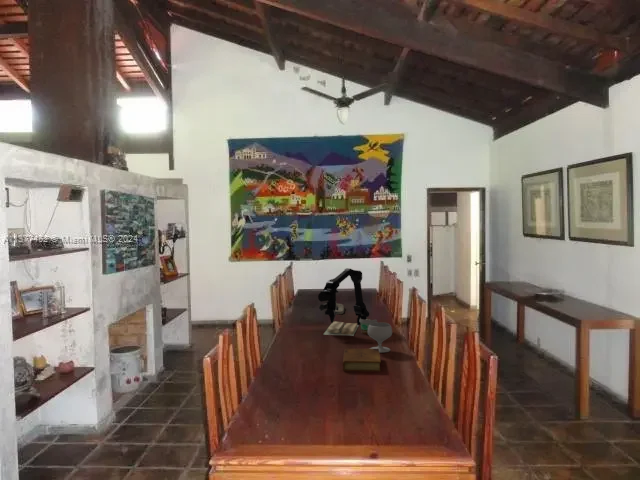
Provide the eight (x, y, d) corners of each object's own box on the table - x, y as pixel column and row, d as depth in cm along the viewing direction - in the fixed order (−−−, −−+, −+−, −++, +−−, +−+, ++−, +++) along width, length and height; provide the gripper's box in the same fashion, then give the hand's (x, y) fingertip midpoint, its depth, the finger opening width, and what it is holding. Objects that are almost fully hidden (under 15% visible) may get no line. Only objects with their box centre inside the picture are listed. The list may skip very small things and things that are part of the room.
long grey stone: (332, 316, 377) (345, 317, 377) (332, 310, 377) (345, 310, 377) (332, 306, 412) (343, 306, 412) (332, 300, 412) (343, 300, 412)
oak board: (357, 326, 333) (357, 323, 333) (352, 334, 310) (352, 331, 310) (346, 325, 335) (346, 323, 335) (341, 333, 311) (341, 330, 311)
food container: (356, 334, 311) (356, 319, 311) (360, 332, 317) (359, 317, 316) (374, 336, 305) (373, 320, 305) (377, 334, 311) (377, 319, 310)
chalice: (393, 347, 277) (393, 322, 277) (390, 354, 264) (390, 327, 263) (369, 346, 281) (369, 321, 281) (365, 352, 268) (365, 326, 267)
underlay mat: (358, 325, 336) (358, 325, 336) (353, 336, 307) (353, 335, 307) (331, 325, 340) (331, 324, 340) (323, 335, 311) (323, 334, 311)
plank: (344, 325, 335) (344, 322, 335) (339, 333, 312) (339, 330, 311) (333, 324, 337) (333, 321, 336) (327, 331, 313) (327, 328, 313)
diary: (344, 358, 259) (344, 348, 259) (378, 359, 258) (378, 348, 257) (342, 372, 236) (342, 360, 236) (380, 372, 235) (380, 360, 234)
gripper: (322, 297, 329) (322, 319, 329) (317, 301, 310) (317, 325, 311) (338, 297, 326) (338, 320, 327) (334, 302, 308) (334, 326, 309)
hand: (332, 322), depth 318 cm, fingers closed
